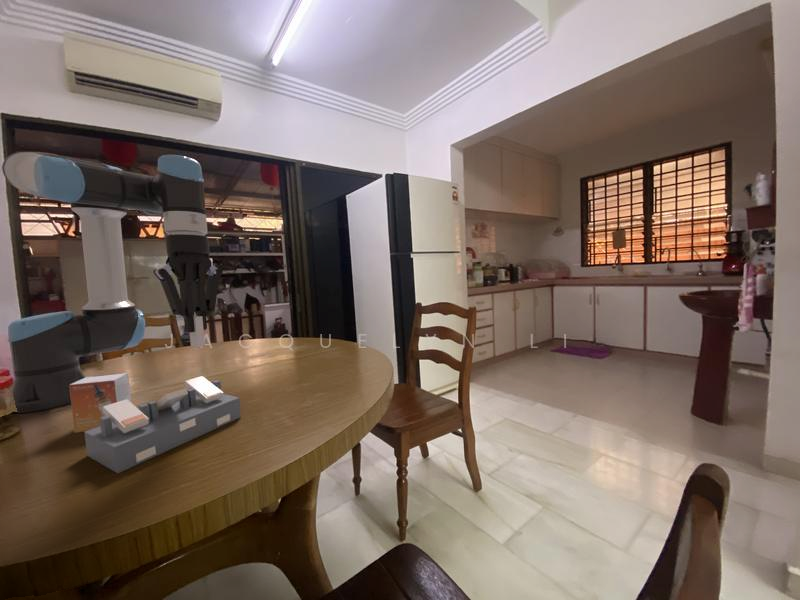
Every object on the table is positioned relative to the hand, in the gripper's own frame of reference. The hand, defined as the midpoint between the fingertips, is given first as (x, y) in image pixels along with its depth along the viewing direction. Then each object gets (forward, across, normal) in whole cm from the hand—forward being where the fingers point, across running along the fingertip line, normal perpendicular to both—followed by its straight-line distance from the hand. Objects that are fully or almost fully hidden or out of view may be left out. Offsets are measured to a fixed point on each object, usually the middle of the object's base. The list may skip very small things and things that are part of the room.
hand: (198, 346), depth 69 cm
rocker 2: (+10, -7, 0) cm, 12 cm away
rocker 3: (+10, 0, 0) cm, 10 cm away
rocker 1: (+10, -14, 0) cm, 17 cm away
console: (+17, -7, 0) cm, 18 cm away
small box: (+17, -11, +19) cm, 28 cm away
